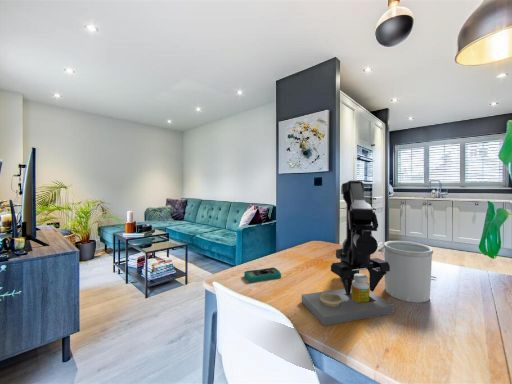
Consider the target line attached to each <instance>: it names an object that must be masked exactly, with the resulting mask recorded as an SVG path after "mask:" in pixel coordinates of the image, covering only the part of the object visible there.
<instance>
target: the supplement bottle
mask: <svg viewBox="0 0 512 384" xmlns="http://www.w3.org/2000/svg"><path fill="white" fill-rule="evenodd" d="M351 287H352V294H351V299H352V300H353V301H355V302H356V303H357V304H362V303H368V302H369V291H370V285H369V282H368V276H367V275H366V274H364V273H359V274H354V279H353V280H352V286H351Z"/></svg>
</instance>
